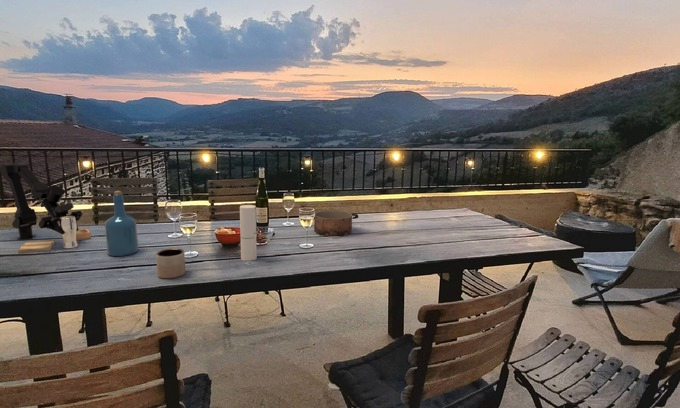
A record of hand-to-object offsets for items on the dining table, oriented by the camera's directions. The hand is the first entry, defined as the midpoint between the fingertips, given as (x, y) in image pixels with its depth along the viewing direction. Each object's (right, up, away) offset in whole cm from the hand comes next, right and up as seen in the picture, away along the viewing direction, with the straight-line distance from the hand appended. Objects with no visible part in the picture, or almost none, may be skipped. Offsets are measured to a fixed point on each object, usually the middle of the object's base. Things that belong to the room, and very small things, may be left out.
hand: (70, 232), depth 194 cm
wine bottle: (+29, -10, -5) cm, 31 cm away
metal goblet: (-1, -7, +2) cm, 8 cm away
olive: (-6, -2, +16) cm, 17 cm away
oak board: (-16, -7, -1) cm, 17 cm away
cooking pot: (+129, -3, +41) cm, 135 cm away
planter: (+63, -16, -30) cm, 71 cm away
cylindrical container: (+90, -12, -9) cm, 91 cm away
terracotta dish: (-6, -4, +16) cm, 18 cm away
